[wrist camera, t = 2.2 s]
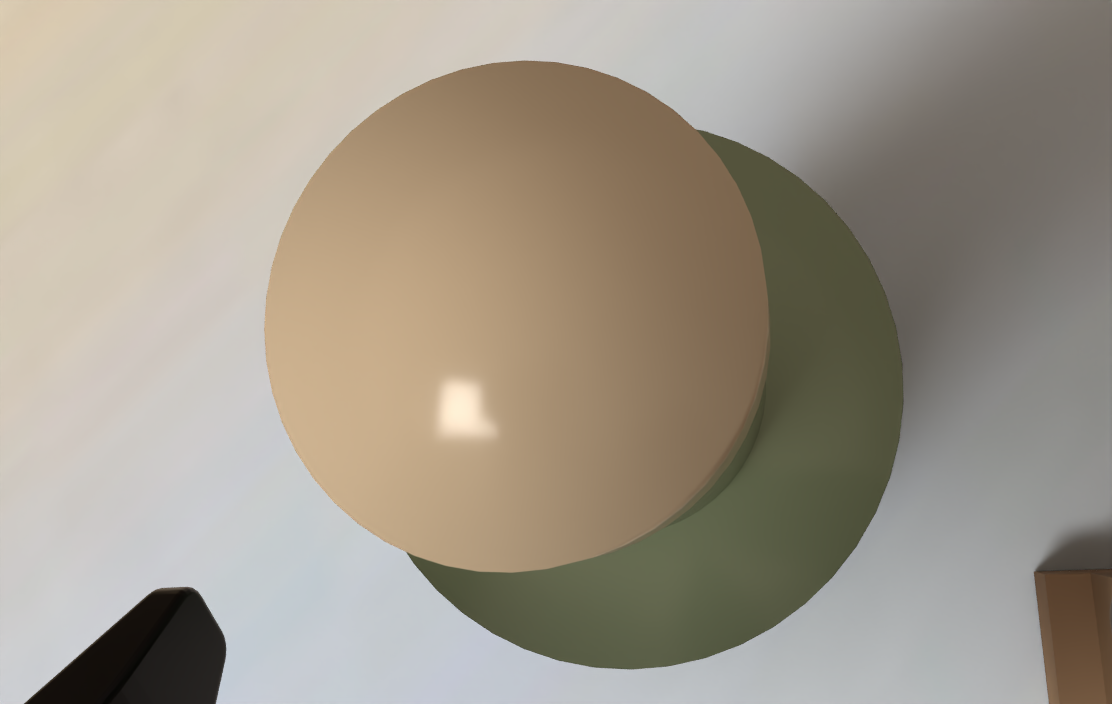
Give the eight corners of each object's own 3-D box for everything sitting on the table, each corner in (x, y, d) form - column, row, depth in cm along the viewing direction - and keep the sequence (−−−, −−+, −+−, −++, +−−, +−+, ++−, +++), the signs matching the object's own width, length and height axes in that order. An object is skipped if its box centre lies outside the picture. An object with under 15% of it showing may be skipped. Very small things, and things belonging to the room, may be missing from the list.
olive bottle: (859, 582, 19) (1036, 785, 5) (574, 591, 20) (94, 778, 6) (834, 297, 19) (927, -183, 6) (561, 320, 20) (111, -39, 7)
